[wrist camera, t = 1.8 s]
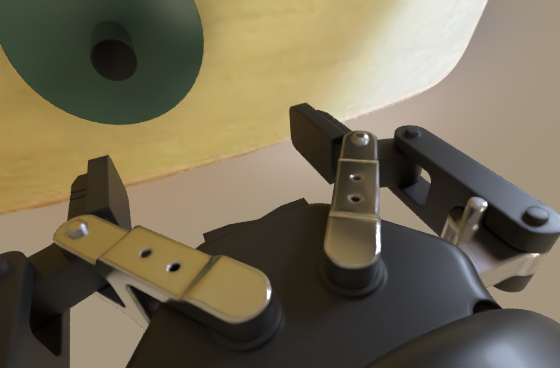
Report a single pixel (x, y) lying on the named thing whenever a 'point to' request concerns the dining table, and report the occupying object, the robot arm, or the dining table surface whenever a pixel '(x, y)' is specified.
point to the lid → (105, 54)
